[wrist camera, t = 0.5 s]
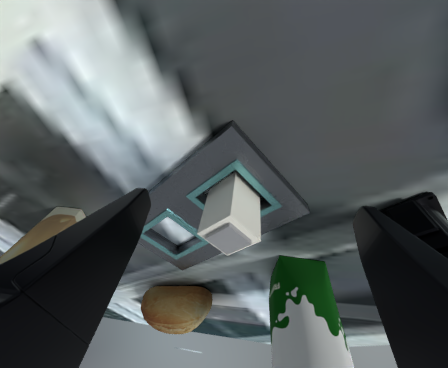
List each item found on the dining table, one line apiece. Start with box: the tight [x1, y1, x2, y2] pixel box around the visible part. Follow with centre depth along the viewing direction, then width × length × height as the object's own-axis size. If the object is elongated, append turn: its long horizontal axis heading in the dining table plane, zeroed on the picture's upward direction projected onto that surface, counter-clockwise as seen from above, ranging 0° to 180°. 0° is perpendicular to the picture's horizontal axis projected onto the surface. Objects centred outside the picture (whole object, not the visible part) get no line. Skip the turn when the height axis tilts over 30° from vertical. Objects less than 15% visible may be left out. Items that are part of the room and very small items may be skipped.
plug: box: [197, 171, 261, 256], centre depth 23 cm, size 4×4×8 cm
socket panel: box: [138, 121, 310, 270], centre depth 28 cm, size 14×24×2 cm, turn 133°
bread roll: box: [141, 286, 212, 334], centre depth 41 cm, size 10×15×8 cm, turn 103°
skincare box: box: [0, 207, 86, 264], centre depth 29 cm, size 6×4×12 cm
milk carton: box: [269, 256, 354, 368], centre depth 27 cm, size 9×9×20 cm
